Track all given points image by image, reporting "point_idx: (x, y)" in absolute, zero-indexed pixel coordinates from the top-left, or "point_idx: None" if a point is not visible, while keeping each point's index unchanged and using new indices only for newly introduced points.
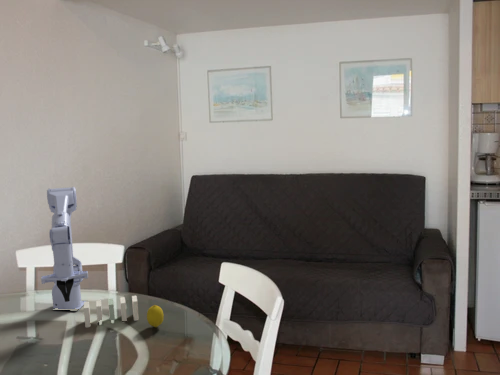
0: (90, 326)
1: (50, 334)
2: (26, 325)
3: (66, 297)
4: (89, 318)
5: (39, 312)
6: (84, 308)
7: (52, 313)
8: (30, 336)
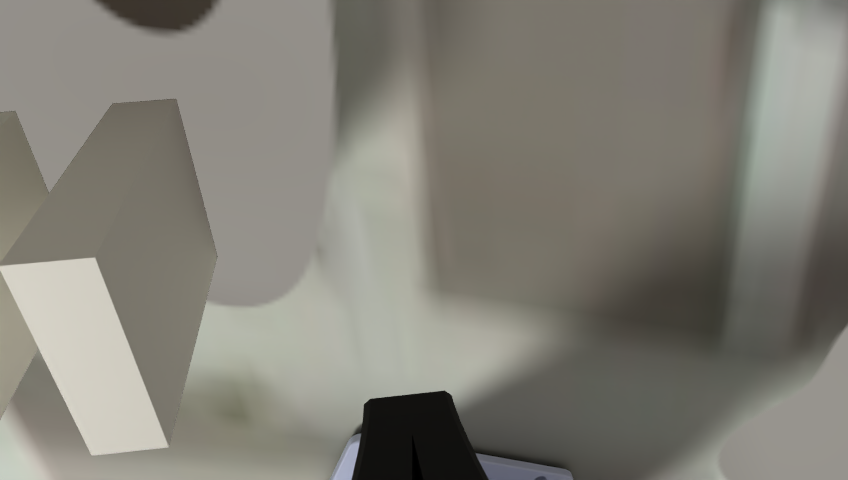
0: (112, 108)
1: (601, 12)
2: (812, 271)
3: (420, 466)
4: (75, 157)
5: (673, 457)
6: (83, 255)
7: (570, 432)
8: (826, 18)
